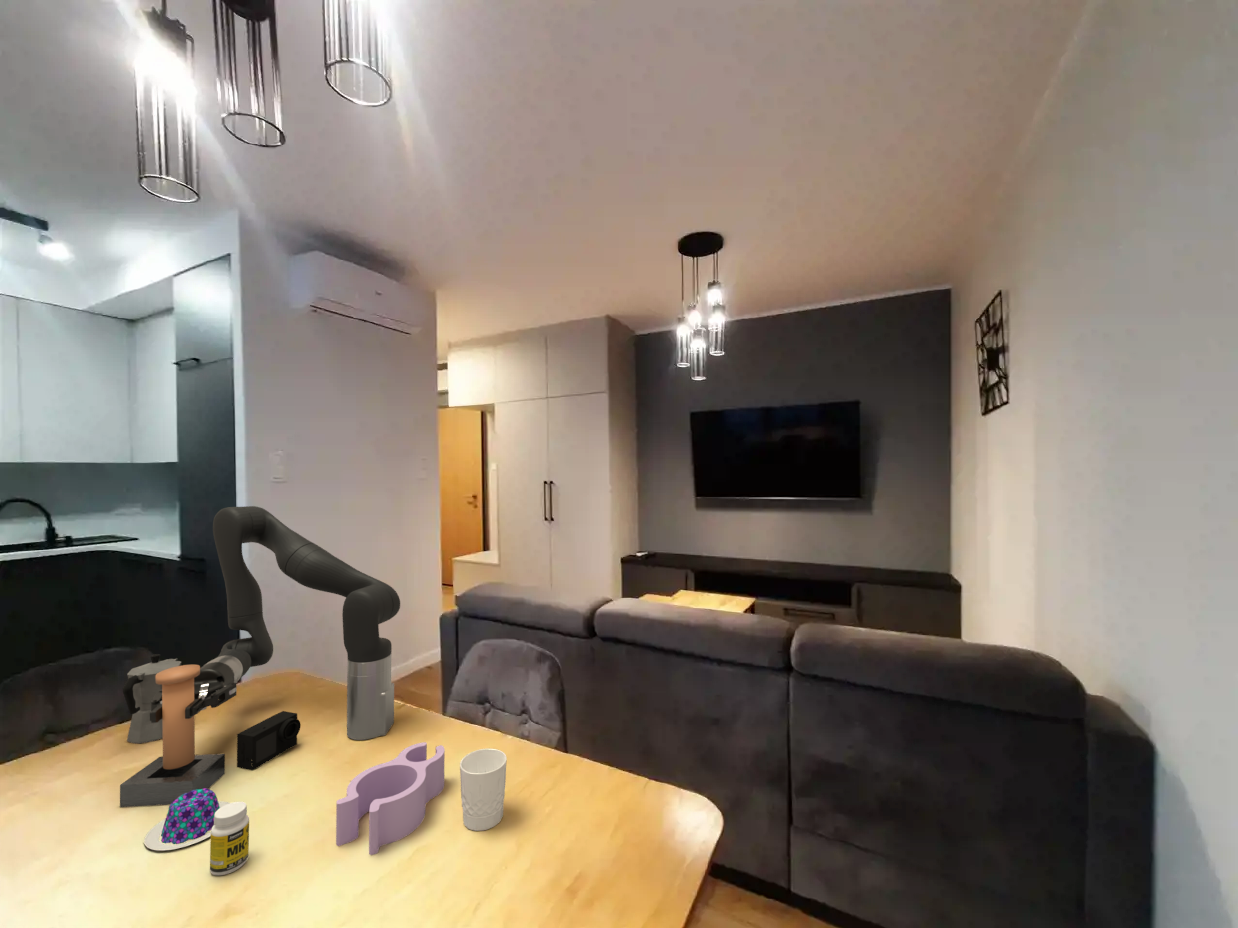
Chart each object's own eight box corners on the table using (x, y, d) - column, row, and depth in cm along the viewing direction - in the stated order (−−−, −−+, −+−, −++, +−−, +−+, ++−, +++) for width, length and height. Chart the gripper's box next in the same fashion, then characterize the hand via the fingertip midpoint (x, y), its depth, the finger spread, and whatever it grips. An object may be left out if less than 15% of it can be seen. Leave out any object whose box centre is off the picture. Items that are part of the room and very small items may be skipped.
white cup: (514, 808, 92) (515, 752, 92) (489, 838, 85) (490, 777, 85) (477, 799, 95) (477, 744, 95) (449, 827, 87) (450, 768, 88)
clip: (406, 773, 103) (407, 738, 103) (460, 784, 100) (461, 748, 100) (322, 842, 84) (323, 800, 84) (385, 860, 80) (386, 815, 80)
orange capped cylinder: (209, 751, 101) (208, 663, 101) (184, 770, 95) (184, 676, 95) (173, 753, 100) (172, 665, 100) (147, 773, 94) (146, 678, 94)
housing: (224, 773, 102) (225, 753, 102) (192, 803, 93) (192, 780, 93) (159, 777, 101) (159, 756, 101) (119, 807, 92) (120, 784, 92)
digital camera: (256, 772, 103) (257, 737, 103) (236, 767, 105) (236, 733, 105) (301, 745, 113) (302, 713, 113) (282, 741, 115) (282, 710, 115)
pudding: (161, 815, 90) (162, 785, 90) (244, 798, 95) (244, 770, 95) (129, 864, 79) (130, 830, 79) (224, 842, 84) (225, 809, 84)
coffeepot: (152, 720, 123) (153, 645, 124) (196, 718, 125) (197, 643, 125) (98, 756, 108) (99, 670, 108) (149, 752, 110) (150, 668, 110)
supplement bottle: (227, 879, 76) (228, 821, 76) (201, 873, 77) (202, 817, 77) (256, 855, 81) (257, 801, 81) (231, 850, 82) (232, 797, 82)
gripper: (175, 665, 109) (122, 700, 93) (253, 657, 113) (216, 690, 97) (175, 700, 109) (123, 742, 93) (253, 691, 113) (216, 730, 97)
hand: (170, 715), depth 95 cm, fingers closed on orange capped cylinder, 4 cm apart
